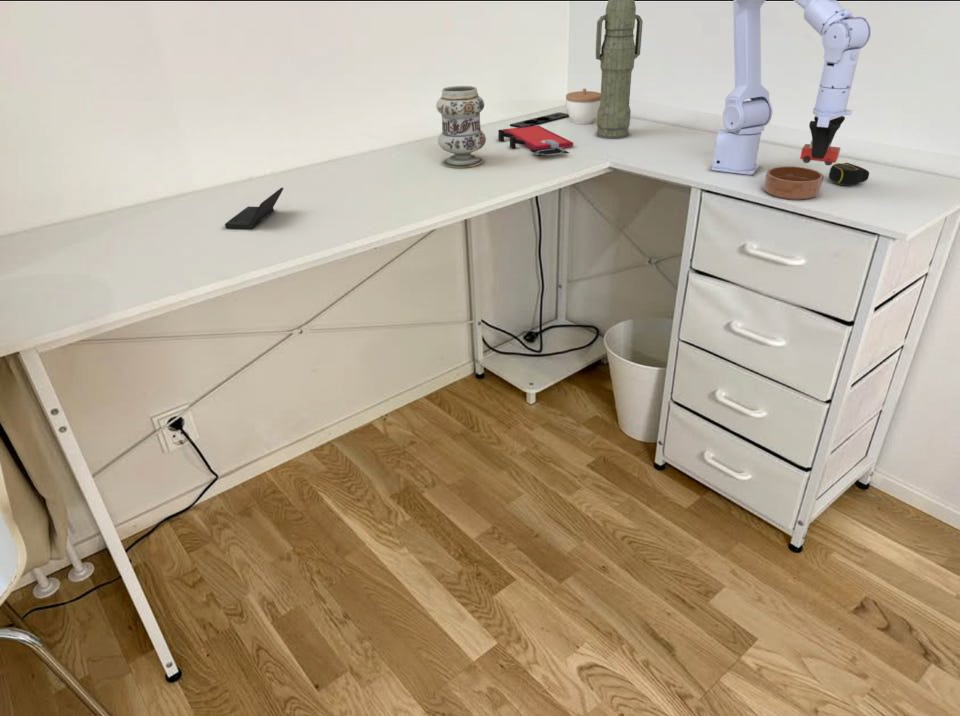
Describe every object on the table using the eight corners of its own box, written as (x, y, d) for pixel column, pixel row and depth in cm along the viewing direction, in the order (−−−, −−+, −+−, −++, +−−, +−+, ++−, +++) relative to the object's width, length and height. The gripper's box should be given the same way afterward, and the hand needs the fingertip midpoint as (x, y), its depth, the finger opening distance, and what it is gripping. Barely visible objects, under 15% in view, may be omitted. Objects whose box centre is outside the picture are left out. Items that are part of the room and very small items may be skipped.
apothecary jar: (478, 153, 184) (475, 81, 175) (492, 166, 174) (491, 90, 165) (434, 159, 181) (429, 86, 172) (446, 171, 171) (441, 95, 162)
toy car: (799, 162, 145) (803, 141, 143) (802, 157, 148) (806, 137, 146) (834, 166, 142) (839, 145, 140) (837, 161, 145) (842, 140, 143)
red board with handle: (532, 160, 176) (586, 154, 180) (533, 149, 174) (586, 143, 178) (490, 135, 200) (538, 130, 204) (490, 125, 199) (538, 120, 203)
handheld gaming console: (237, 203, 151) (256, 168, 146) (267, 220, 153) (287, 187, 148) (221, 229, 142) (241, 193, 137) (254, 248, 145) (275, 213, 139)
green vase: (639, 136, 194) (651, -5, 175) (599, 140, 191) (607, -3, 173) (625, 129, 201) (635, -8, 183) (587, 133, 199) (593, -5, 180)
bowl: (758, 196, 149) (761, 177, 147) (769, 181, 157) (772, 163, 155) (814, 203, 144) (818, 184, 142) (823, 188, 152) (827, 170, 150)
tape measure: (868, 185, 152) (872, 168, 150) (842, 189, 151) (846, 172, 149) (845, 176, 158) (849, 160, 156) (820, 180, 156) (824, 163, 154)
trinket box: (564, 125, 207) (565, 92, 202) (566, 117, 216) (567, 85, 211) (600, 126, 205) (602, 92, 200) (601, 117, 214) (603, 85, 209)
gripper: (852, 94, 130) (835, 166, 137) (862, 80, 141) (845, 148, 148) (812, 91, 133) (797, 162, 141) (824, 78, 144) (809, 144, 151)
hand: (819, 155), depth 145 cm, fingers closed on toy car, 4 cm apart
